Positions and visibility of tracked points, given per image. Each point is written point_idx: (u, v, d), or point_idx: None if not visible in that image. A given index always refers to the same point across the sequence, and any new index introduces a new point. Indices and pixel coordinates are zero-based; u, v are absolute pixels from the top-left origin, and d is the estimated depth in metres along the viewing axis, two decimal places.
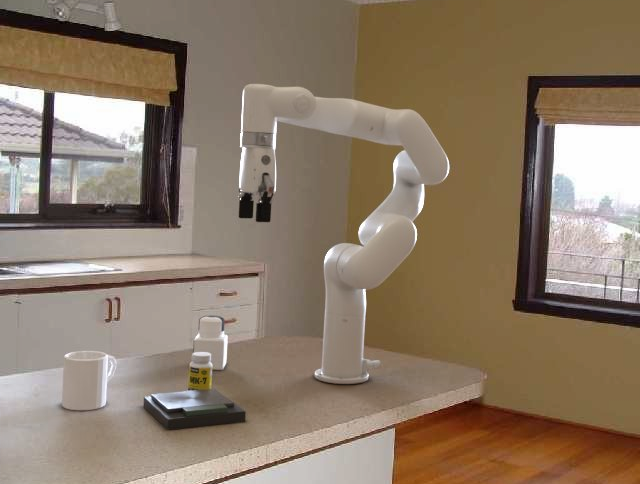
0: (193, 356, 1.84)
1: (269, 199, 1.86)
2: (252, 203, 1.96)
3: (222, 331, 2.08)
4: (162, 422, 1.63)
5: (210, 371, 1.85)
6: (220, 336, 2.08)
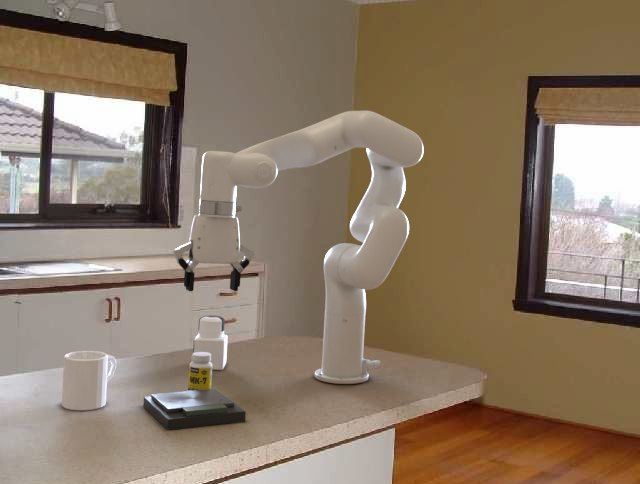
0: (193, 356, 1.84)
1: None
2: None
3: (222, 331, 2.08)
4: (162, 422, 1.63)
5: (210, 371, 1.85)
6: (220, 336, 2.08)
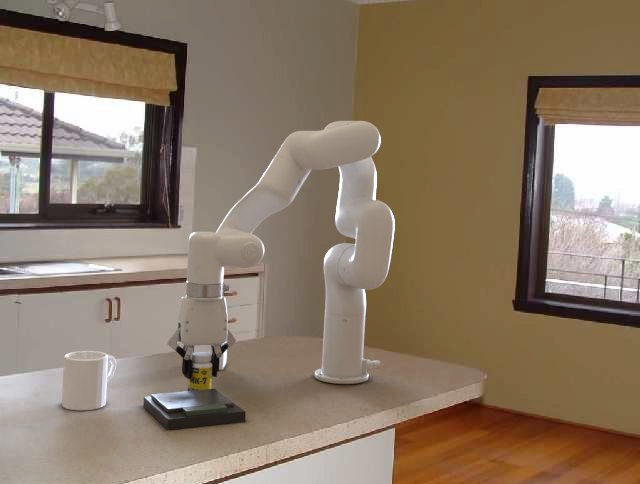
0: (193, 356, 1.84)
1: None
2: None
3: None
4: (162, 422, 1.63)
5: (210, 371, 1.85)
6: None
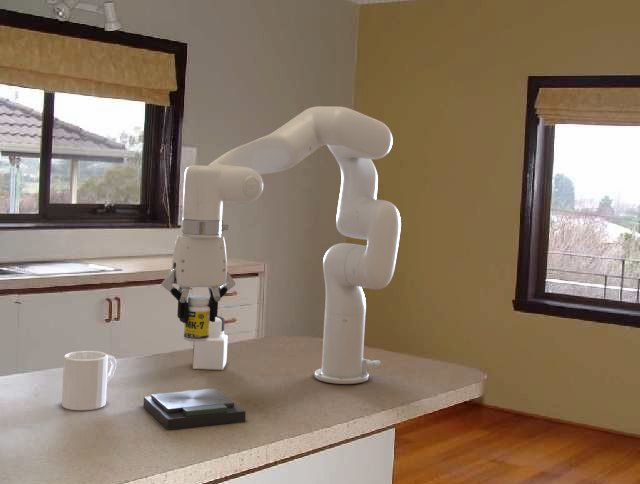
0: (189, 299, 1.71)
1: None
2: None
3: (222, 331, 2.08)
4: (162, 422, 1.63)
5: (208, 315, 1.72)
6: (220, 336, 2.08)
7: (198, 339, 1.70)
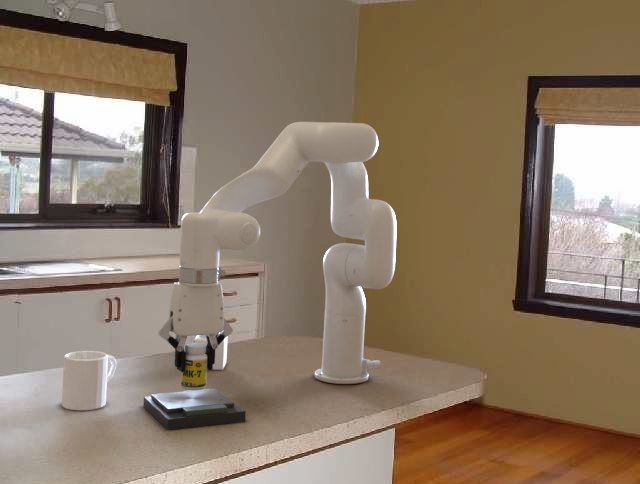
0: (186, 347, 1.70)
1: None
2: None
3: None
4: (162, 422, 1.63)
5: (205, 363, 1.70)
6: None
7: (195, 388, 1.69)
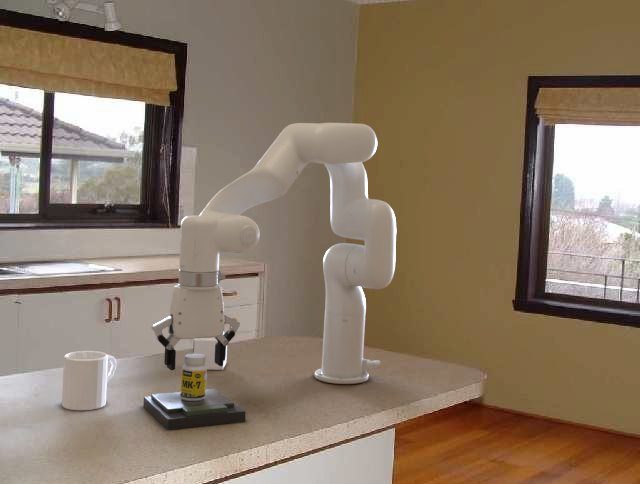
0: (186, 358, 1.70)
1: None
2: None
3: None
4: (162, 422, 1.63)
5: (204, 374, 1.71)
6: None
7: (195, 399, 1.69)
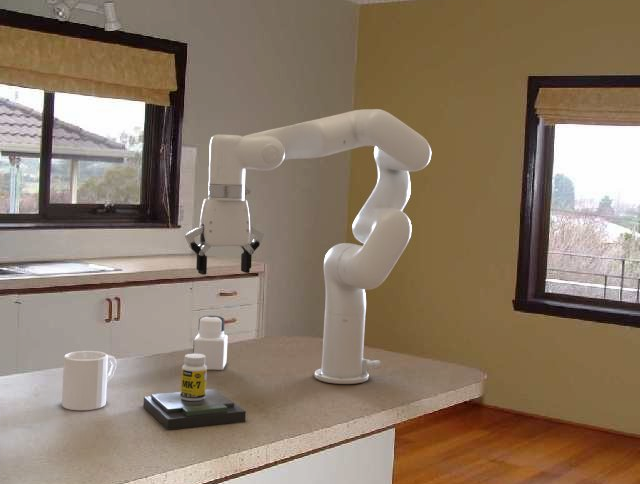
0: (186, 358, 1.70)
1: None
2: None
3: (222, 331, 2.08)
4: (162, 422, 1.63)
5: (204, 374, 1.71)
6: (220, 336, 2.08)
7: (195, 399, 1.69)
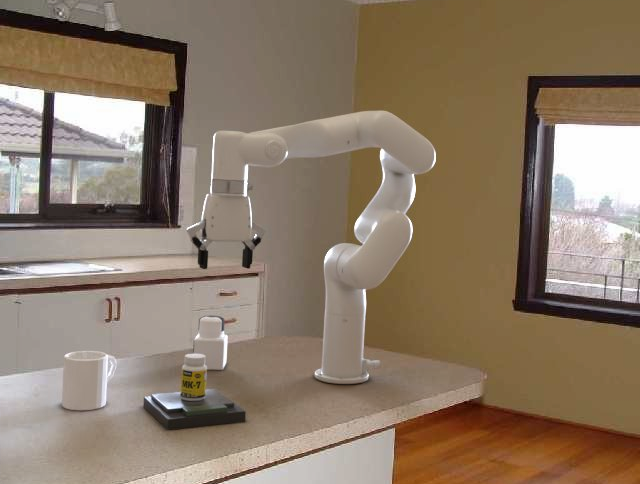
0: (186, 358, 1.70)
1: None
2: None
3: (222, 331, 2.08)
4: (162, 422, 1.63)
5: (204, 374, 1.71)
6: (220, 336, 2.08)
7: (195, 399, 1.69)
